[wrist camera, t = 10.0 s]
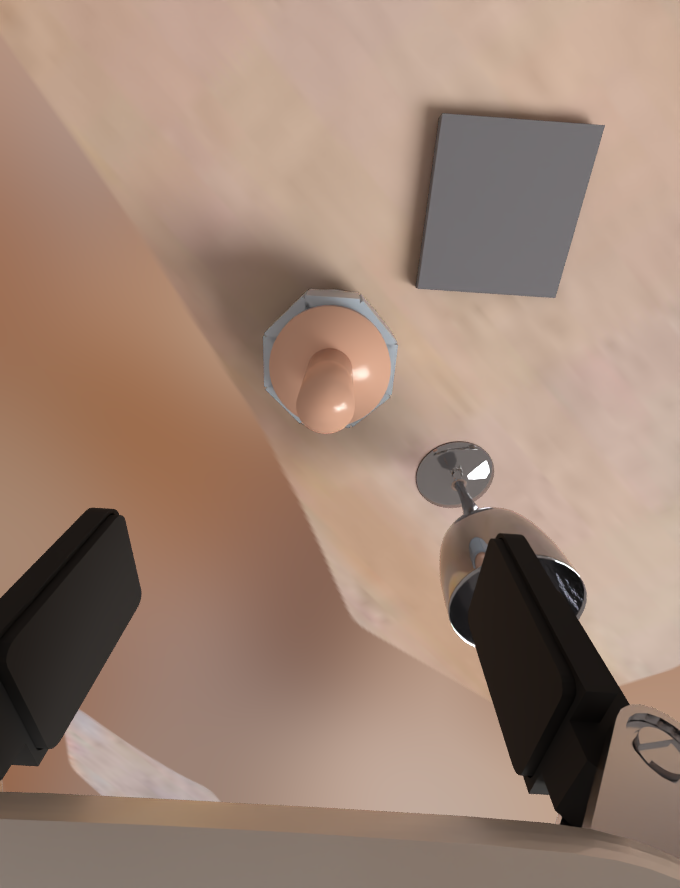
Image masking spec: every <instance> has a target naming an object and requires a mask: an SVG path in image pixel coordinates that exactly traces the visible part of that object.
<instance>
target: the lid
mask: <svg viewBox="0 0 680 888" xmlns="http://www.w3.org/2000/svg"><path fill="white" fill-rule="evenodd" d="M269 372H270V378H271V383H272V385H273V388H274V391H275V392H276V394H277V396H278V398H279V399H280V401H281V402H282V403H283V405H284V406H285V407H286V408H287V409H288V410H289V411H290V412H292V413H293V414H294V415H296V416H297V417H299V419H300V420H301V422H302V423H303V424H304V425H305V426H306V427H307V428H309V429H310V430H312V431H314V432H317V433H322V434H329V433H335V432H337V431H340V430H342V429H343V428H344V427H346V426H347V425H348V424H350V423H353V422H355V421H357V420H359V419H361V418H363V417H364V416H366V415H367V414H369V413H370V412H371V411H372V410H373V409H374V408H375V407H376V406H377V405H378V404H379V402H380V401H381V399H382V398H383V396H384V394H385V392H386V390H387V387H388V384H389V380H390V375H391V362H390V356H389V351H388V349H387V346H386V343H385V341H384V338H383V337H382V335H381V333H380V331H379V330H378V329H377V327H376V326H375V325H374V324H373V323H372V322H371V321H370V320H369V319H368V318H367V317H365V316H364V315H362V314H361V313H359V312H357V311H355V310H353V309H351V308H348V307H344V306H339V305H321V306H316V307H312V308H309V309H307V310H305V311H302V312H301V313H299V314H297V315H296V316H295V317H293V318H292V319H291V320H290V321H289V322H288V323H287V324H286V325H285V326H284V327H283V329H282V330H281V332H280V333H279V335H278V336H277V338H276V340H275V342H274V344H273V347H272V350H271V354H270V359H269Z"/></svg>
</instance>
